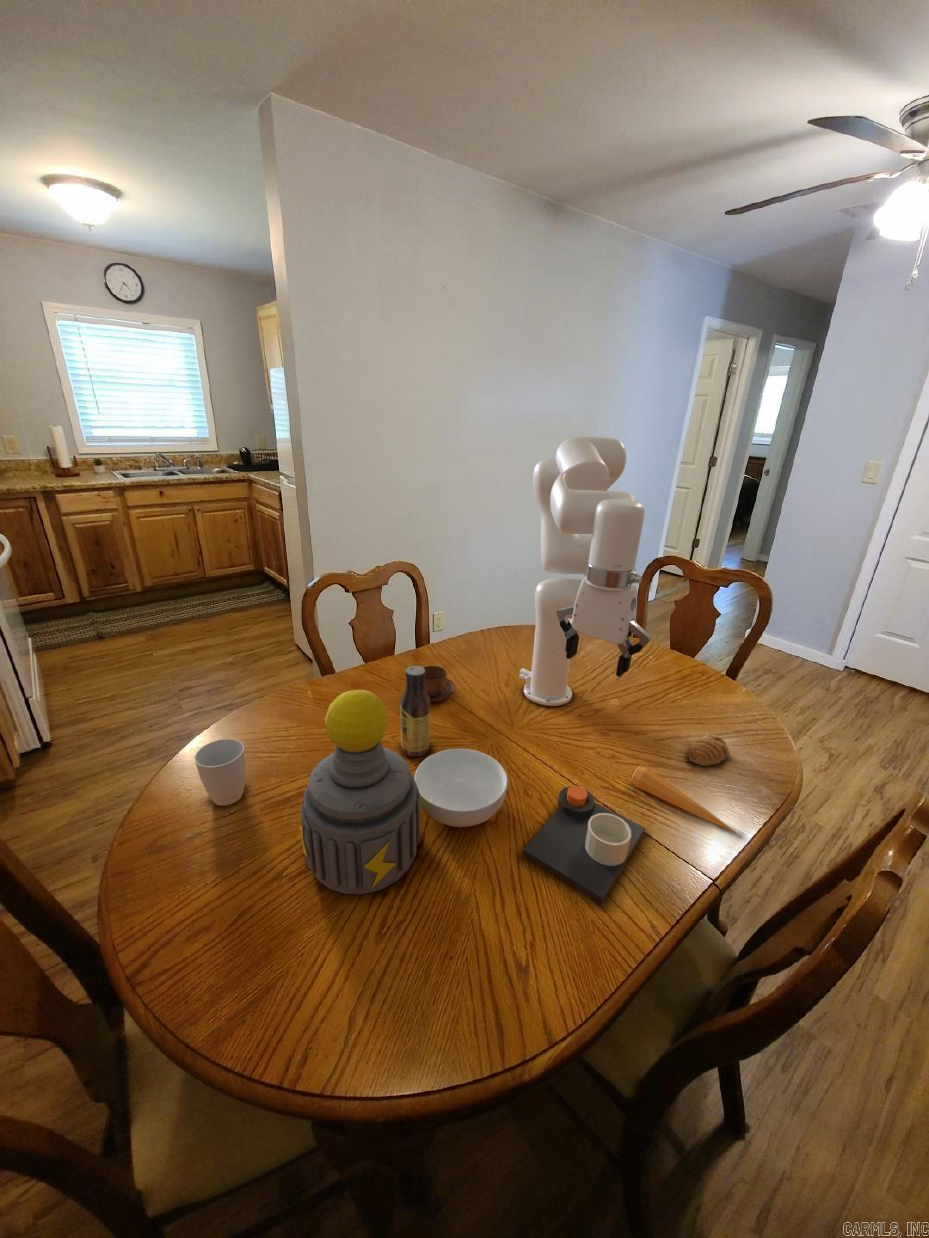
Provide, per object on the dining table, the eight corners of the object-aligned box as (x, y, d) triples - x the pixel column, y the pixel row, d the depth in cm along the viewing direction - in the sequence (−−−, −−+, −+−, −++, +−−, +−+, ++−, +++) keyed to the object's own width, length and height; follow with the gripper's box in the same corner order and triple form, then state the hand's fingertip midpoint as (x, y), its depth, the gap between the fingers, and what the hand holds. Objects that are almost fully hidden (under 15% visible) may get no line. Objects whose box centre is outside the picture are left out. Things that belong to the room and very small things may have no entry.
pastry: (709, 773, 104) (713, 758, 103) (679, 757, 109) (682, 742, 108) (730, 756, 110) (734, 742, 108) (700, 742, 114) (704, 727, 113)
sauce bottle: (401, 741, 111) (400, 661, 104) (429, 740, 112) (430, 661, 104) (400, 759, 105) (398, 676, 97) (430, 759, 106) (431, 676, 98)
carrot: (627, 786, 101) (628, 775, 98) (638, 770, 103) (639, 758, 100) (730, 848, 89) (735, 838, 86) (740, 829, 91) (745, 817, 88)
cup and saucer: (463, 690, 132) (464, 670, 130) (437, 711, 123) (437, 689, 120) (427, 677, 138) (427, 657, 136) (399, 696, 129) (399, 675, 126)
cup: (260, 787, 96) (253, 744, 92) (229, 816, 89) (220, 771, 85) (226, 777, 98) (218, 734, 95) (193, 804, 91) (183, 760, 88)
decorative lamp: (398, 796, 95) (395, 655, 84) (439, 872, 80) (442, 711, 68) (295, 828, 87) (276, 677, 75) (319, 920, 71) (300, 747, 60)
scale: (516, 851, 84) (517, 838, 83) (567, 793, 97) (568, 781, 96) (601, 904, 75) (604, 890, 74) (644, 832, 89) (647, 819, 88)
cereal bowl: (437, 855, 83) (437, 822, 80) (401, 792, 96) (400, 762, 93) (522, 822, 90) (525, 791, 87) (478, 767, 104) (479, 739, 101)
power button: (563, 800, 92) (564, 793, 91) (572, 790, 94) (573, 782, 94) (580, 809, 90) (582, 802, 89) (589, 799, 92) (590, 791, 92)
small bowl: (577, 850, 83) (581, 830, 81) (595, 826, 88) (598, 806, 86) (617, 873, 79) (621, 852, 77) (633, 846, 84) (637, 826, 82)
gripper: (669, 581, 82) (649, 672, 89) (573, 559, 91) (562, 643, 98) (653, 594, 76) (634, 690, 83) (553, 569, 86) (543, 656, 93)
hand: (595, 664), depth 91 cm, fingers open, 9 cm apart
